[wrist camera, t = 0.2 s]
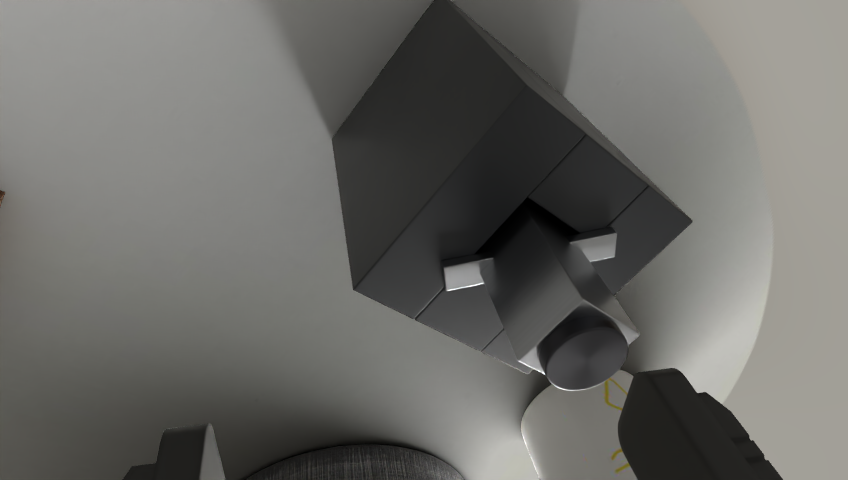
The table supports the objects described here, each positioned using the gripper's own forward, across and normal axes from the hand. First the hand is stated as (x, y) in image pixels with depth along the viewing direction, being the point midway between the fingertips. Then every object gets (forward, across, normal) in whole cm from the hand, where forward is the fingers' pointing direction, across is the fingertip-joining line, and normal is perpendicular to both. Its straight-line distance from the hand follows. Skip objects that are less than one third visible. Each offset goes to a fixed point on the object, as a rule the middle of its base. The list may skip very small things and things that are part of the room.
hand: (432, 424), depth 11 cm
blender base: (+25, -6, +4) cm, 26 cm away
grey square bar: (+20, -6, +4) cm, 21 cm away
